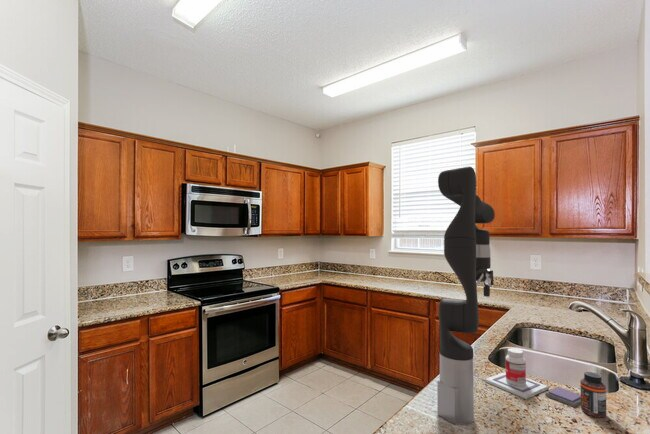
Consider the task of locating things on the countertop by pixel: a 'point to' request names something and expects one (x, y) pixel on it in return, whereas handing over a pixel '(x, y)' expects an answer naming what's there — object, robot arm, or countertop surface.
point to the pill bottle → (515, 367)
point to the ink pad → (564, 396)
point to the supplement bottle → (593, 395)
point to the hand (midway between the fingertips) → (480, 297)
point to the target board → (522, 391)
